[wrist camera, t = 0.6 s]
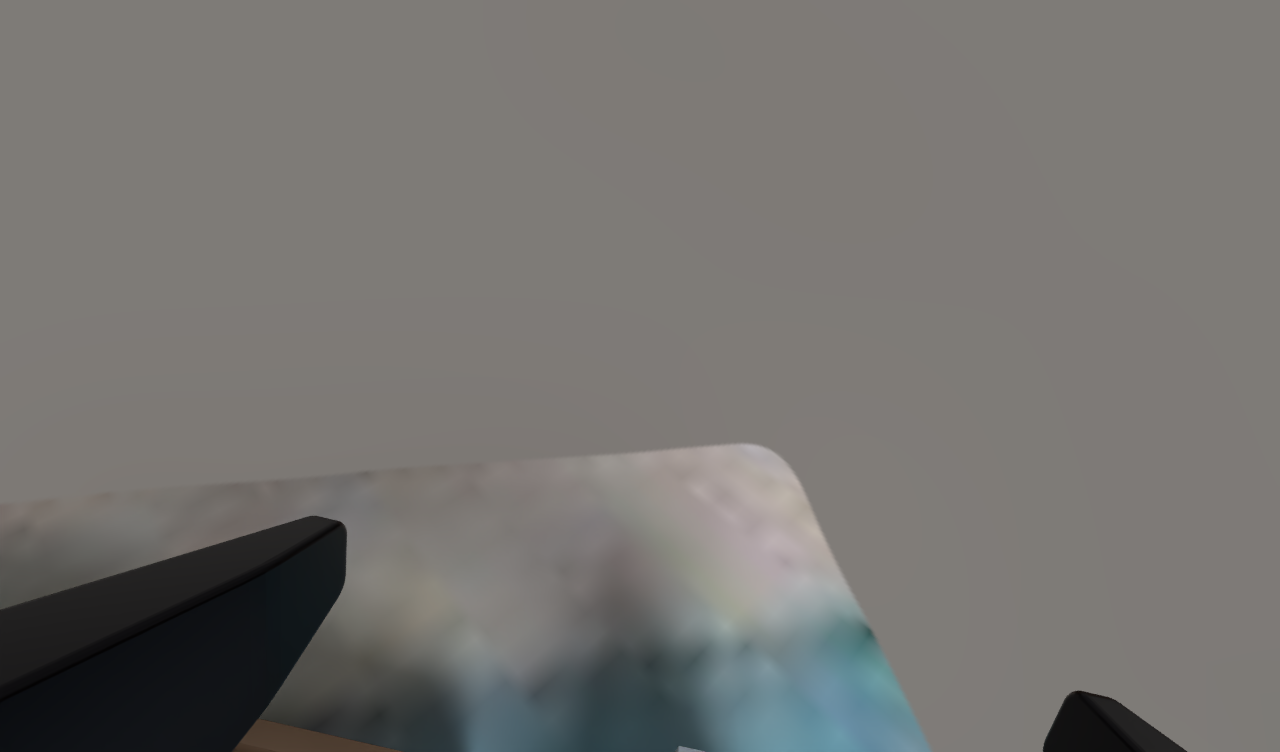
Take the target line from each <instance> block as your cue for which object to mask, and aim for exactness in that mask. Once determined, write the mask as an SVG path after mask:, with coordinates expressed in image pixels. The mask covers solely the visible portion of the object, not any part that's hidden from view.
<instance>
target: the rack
mask: <svg viewBox="0 0 1280 752" xmlns="http://www.w3.org/2000/svg"><path fill="white" fill-rule="evenodd" d="M232 752H402V751H398V750H393V749H389V748H385V747H380V746H376V745H372V744H367V743H363V742H358V741H354V740H350V739H345V738H341V737H337V736H332V735H328V734H323V733H319V732H315V731H310V730H306V729H302V728H297V727H293V726H289V725H284V724H280V723H275V722H271V721H267V720H262V719H257V721H256V722H255V723H254V725H253V726H252V727H251V728H250V730H249V731H248V732H247V734H246V735H245V736H244V737H243V739H242V740H241V741H240V742H239V744H238V745H237V746H236V748H235V749H234V750H233V751H232Z"/></svg>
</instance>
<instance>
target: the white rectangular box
mask: <svg viewBox="0 0 1280 752" xmlns="http://www.w3.org/2000/svg"><path fill="white" fill-rule="evenodd" d="M675 752H704V751H700V750H695V749H691V748H687V747H682V746H678V748H677V750H676V751H675Z"/></svg>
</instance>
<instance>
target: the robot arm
mask: <svg viewBox="0 0 1280 752" xmlns="http://www.w3.org/2000/svg"><path fill="white" fill-rule="evenodd" d="M346 547H347V531H346V527H345V525H344V524H343V523H342V522H340V521H336V520H332V519H328V518H323V517H319V516H309V517H305V518H302V519H299V520H295V521H292V522H289V523H285V524H282V525H279V526H276V527H272V528H269V529H266V530H262V531H259V532H256V533H252V534H249V535H246V536H243V537H239V538H236V539H233V540H229V541H226V542H223V543H219V544H216V545H213V546H210V547H206V548H203V549H200V550H196V551H193V552H190V553H186V554H183V555H180V556H177V557H173V558H170V559H167V560H163V561H160V562H157V563H153V564H150V565H147V566H144V567H140V568H137V569H134V570H130V571H127V572H124V573H120V574H117V575H114V576H111V577H107V578H104V579H101V580H97V581H94V582H91V583H87V584H84V585H81V586H78V587H74V588H71V589H68V590H64V591H61V592H58V593H55V594H51V595H48V596H45V597H41V598H38V599H35V600H31V601H28V602H25V603H22V604H18V605H15V606H12V607H8V608H5V609H2V610H0V752H232V751H233V750H234V749H235V748H236V746H237V745H238V744H239V742H240V741H241V740H242V739H243V737H244V736H245V735H246V734H247V732H248V731H249V730H250V728H251V727H252V726H253V725H254V723H255V722H256V721H257V719H258V718H259V717H260V715H261V714H262V713H263V711H264V710H265V709H266V707H267V706H268V705H269V703H270V702H271V700H272V699H273V697H274V696H275V694H276V693H277V691H278V690H279V689H280V687H281V686H282V684H283V682H284V681H285V679H286V678H287V676H288V675H289V673H290V672H291V670H292V668H293V667H294V665H295V664H296V662H297V661H298V659H299V658H300V656H301V654H302V653H303V651H304V650H305V648H306V647H307V645H308V644H309V642H310V641H311V639H312V637H313V636H314V634H315V633H316V631H317V630H318V628H319V627H320V625H321V623H322V622H323V620H324V619H325V617H326V616H327V614H328V613H329V611H330V609H331V608H332V606H333V605H334V603H335V602H336V600H337V599H338V597H339V595H340V593H341V591H342V589H343V586H344V582H345V576H346ZM1043 752H1187V751H1186V750H1184V749H1183V748H1182V747H1180V746H1179V745H1177V744H1176V743H1175V742H1173V741H1172V740H1170V739H1169V738H1168V737H1166V736H1165V735H1164V734H1162V733H1161V732H1159V731H1158V730H1157V729H1155V728H1154V727H1152V726H1151V725H1150V724H1148V723H1147V722H1145V721H1144V720H1142V719H1141V718H1140V717H1139V716H1137V715H1136V714H1134V713H1133V712H1132V711H1130V710H1129V709H1127V708H1126V707H1125V706H1123V705H1122V704H1121V703H1119V702H1117V701H1116V700H1114V699H1112V698H1109V697H1105V696H1101V695H1097V694H1092V693H1088V692H1084V691H1074V692H1072V693H1070V694H1069V695H1067V697H1066V698H1065V700H1064V702H1063V704H1062V706H1061V708H1060V710H1059V712H1058V714H1057V716H1056V718H1055V720H1054V723H1053V725H1052V727H1051V729H1050V731H1049V733H1048V735H1047V737H1046V739H1045V742H1044V747H1043Z"/></svg>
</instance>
